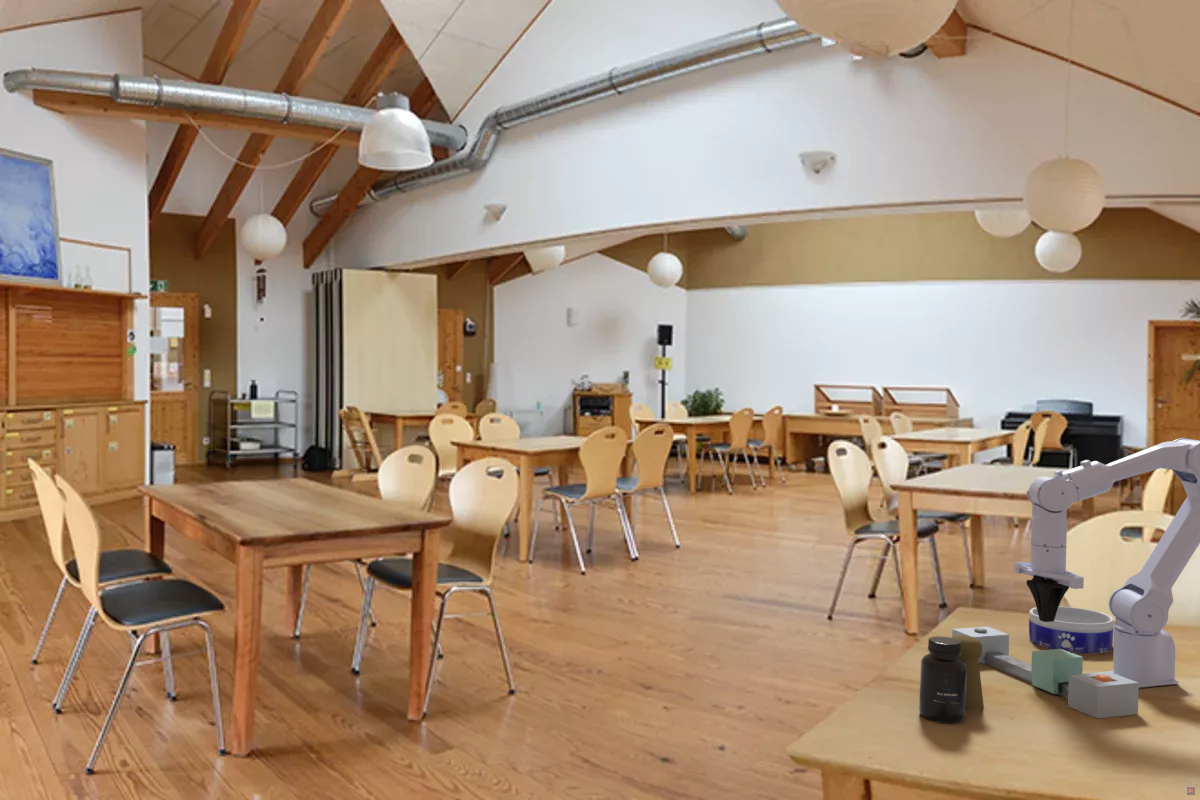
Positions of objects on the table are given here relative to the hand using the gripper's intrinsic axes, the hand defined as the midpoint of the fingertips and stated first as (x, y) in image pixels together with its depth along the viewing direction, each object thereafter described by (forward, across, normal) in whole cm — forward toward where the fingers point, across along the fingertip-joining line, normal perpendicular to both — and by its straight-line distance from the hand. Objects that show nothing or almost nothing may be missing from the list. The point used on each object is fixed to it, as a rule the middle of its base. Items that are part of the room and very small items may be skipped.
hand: (1046, 620), depth 171 cm
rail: (+10, +2, -4) cm, 11 cm away
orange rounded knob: (+8, +17, -4) cm, 19 cm away
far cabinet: (+10, -12, -4) cm, 16 cm away
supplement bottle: (+10, +13, -31) cm, 35 cm away
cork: (+10, +9, -24) cm, 28 cm away
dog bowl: (+10, -17, +21) cm, 29 cm away
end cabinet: (+10, +17, -4) cm, 20 cm away
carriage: (+10, +7, -4) cm, 13 cm away
